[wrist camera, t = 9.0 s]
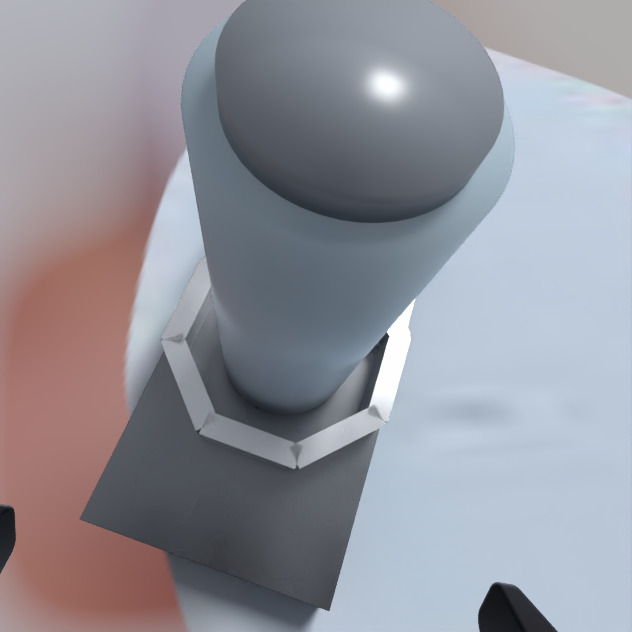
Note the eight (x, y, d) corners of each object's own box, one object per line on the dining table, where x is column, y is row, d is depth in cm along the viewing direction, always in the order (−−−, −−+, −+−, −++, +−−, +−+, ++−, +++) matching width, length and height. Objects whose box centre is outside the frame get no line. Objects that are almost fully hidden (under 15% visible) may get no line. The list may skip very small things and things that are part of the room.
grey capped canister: (349, 416, 18) (569, 248, 6) (217, 411, 17) (147, 210, 5) (347, 297, 19) (510, -20, 7) (228, 289, 19) (196, -73, 7)
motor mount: (322, 601, 16) (347, 636, 12) (93, 517, 16) (42, 523, 12) (422, 246, 23) (461, 190, 19) (257, 184, 23) (259, 115, 19)
